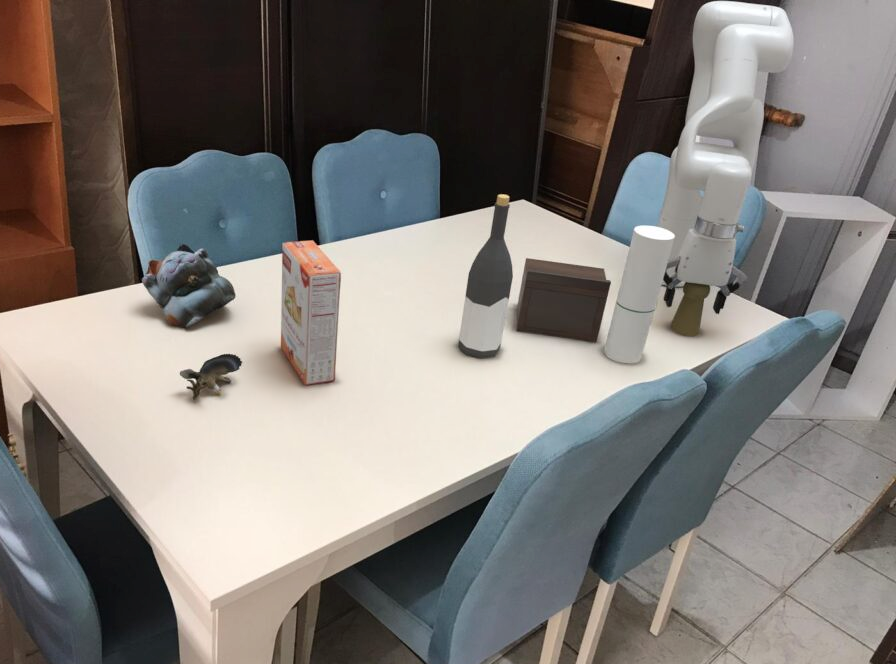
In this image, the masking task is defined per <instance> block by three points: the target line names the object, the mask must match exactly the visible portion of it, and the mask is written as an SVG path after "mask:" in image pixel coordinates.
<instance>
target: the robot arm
mask: <svg viewBox="0 0 896 664" xmlns="http://www.w3.org/2000/svg"><path fill="white" fill-rule="evenodd" d="M794 37H795V36H794V31H793V28H792V24H791V22H790V20H789V16H788V13H787V12H786V11H785V10H784V9H783V8H782V7H779V6H774V5H767V4H757V3H748V2H741V1H733V0H732V1H731V0H713V1H710V2H709V1H708V2H707V3H705V4H703V5H702V6H701V7H700V8H699V10H698V11H697V13H696V16H695V19H694V23H693V29H692V51H693V58H694V59H693V60H694V71H693V77H692V82H691V88H690V93H689V97H688V103H687V108H686V114H685V123H684V127H683V129H682V131H681V133H680V137H679V139H678V144H677V146H676V147H675V148H674V150H673V151H672V153H671V156H670V159H669V167H668V177H667V178H668V179H667V183H666V190H665V195H664V199H663V203H662V207H661V210H660V214H659V219H658V223H657V226H656V227H660V228H663V229H666V230H668V231H670V232H672V233H673V234H674V235H675V237H674V241H673V245H672V248H671V252H670V256H669V259H668V263H667V267H666V270H665V274H664V277H663V281H662V285H661V286H666V288H665V291H664V295H663V301H664V302H665V305H666V307H667V308H672V305H673V301H674V298H675V294H676V287H677V288H679V287H681V288H682V287H683V286H684V284H685V282H689V283H696V284H704V285H709V286H710V287H719V290H718V291H717V292H716V296H715V299H714V302H713V305H712V309H713V311H714V313H715V315H720V313H721V310H723V309H724V307H725V304H726V300H727V298H728V297H729V296H730V295H731V294H732V293H734V292H735V291H737V290H739V289H740V287H741V286H742V285H743V284H744V283H746V281H747V280H748V276H747V275H746V274H745V273H744V272H743V271H741V270H740V269H739V268H737V267H736V266H734V259H735V256H736V255H735V253H736V247H737V237H736V234H737V233H743V232H744V229H745V225H741V224H739V220H740V218H741V214H742V210H743V207H744V204H745V200H746V197H747V194H748V191H749V187H750V184H751V181H752V176H753V171H754V167H755V162H756V157H757V153H758V149H759V145H760V144H759V143H760V139H761V135H762V130H763V125H764V120H765V119H764V118H765V110H764V104H763V102H762V101H761V100H760V98H757V97H756V96H755V91H756V86H757V85H756V84H757V77H758V72H761V73H771V74H779V73H782V72H784V71H785V70H786V69H787V67H788V66H789V64H790V62H791V61H792V57H793V53H794V47H795V45H794V44H795V39H794ZM697 136H698V137H705V138H712V139H719V140H728V141H730V142H732V145H733V146H731V145H730V146H729V145H720V144H716V143H707V142H705V143H704V142H697V141H696V140H697V139H696V138H697ZM701 192H703V196H702V194H701ZM731 275H732V276H734V277H736V278H735V280H734V281H732V282H730V283H729V280H730V278H731Z"/></svg>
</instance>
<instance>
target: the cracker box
mask: <svg viewBox="0 0 896 664" xmlns="http://www.w3.org/2000/svg"><path fill="white" fill-rule="evenodd" d="M281 247H282V253H281V255H282V256H281V262H282V263H281V303H280V305H281V307H280V308H281V309H280V312H281V315H280V318H281V319H280V348H281V350H282V351H283V353H284V354H285V356H286V358H287V359H288V361H289V362H290V364H291V365H292V367H293V369H294V370H295V372H296V374H297V375H298V376H299V378H300V380H301V381H302V383H303V385H304V386H308V385H309V386H311V385H315V384H322V383H328V382H330V383H331V382H335V381H336V364H337V351H338V350H337V349H338V332H339V316H340V315H339V314H340V300H341V299H340V298H341V282H342V281H341V280H342V272H341V270H340V269H339V268H338V267H337V266H336V265H335V264H334V262H332V260H331V259H330V258H329V257H328V256H327V255H326V254H325V252H324V251H323V250H322V249H321V248H320V247H319V246H318V244H317V243H316V242H315V241H314V240H313V239H312V240H300V241H299V240H298V241H286V242H282V246H281Z"/></svg>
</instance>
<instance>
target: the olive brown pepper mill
mask: <svg viewBox="0 0 896 664" xmlns="http://www.w3.org/2000/svg"><path fill="white" fill-rule="evenodd" d="M682 292H683V295H682V298H681V301H680V302H679V304H678V306H677V309H676V311H675V313H674V316H673V318H672V320H671V322H670V325H669V329H670V330H671V331H672V332H674V333H675V334H677V335H680V336H684V337H696V336H698V335H699V334H700V330H701V323H702V316H703V310H704V304H705V299H706V298H708V297H709V295H710V292H711V285H704V284H696V283H689V282H685V284H684V286H682Z"/></svg>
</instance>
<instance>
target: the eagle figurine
mask: <svg viewBox="0 0 896 664" xmlns="http://www.w3.org/2000/svg"><path fill="white" fill-rule="evenodd" d="M242 364H243V360H241V358H240V357H239V356H238V355H236V354H233V353H223V354H219V355H217V356H214V357H212V358H209V359H207V360H205V361H204V362H203V364H202V366H201V367H200V369H199V371H195V370H193V369H192V368H186V369H183V370H180V371H179V376H180V377H181V378H183V379H185V380H186V381H187V382H189V383H190V384H191V385H192V386H186V389H188V390H190V391H192V400H193V401H194V400H195V399H197V398H198V397H199V396H200V395H201V391H203V390H205V389H210V390H212V391H213V392H215V393H217V394H218V395H219V396H222V390H221V388H220V387H219V385H218V384H217V383H216V381H222V382H223V381H224V382H230V383H231V382H232V379H230V378H229V377H227V376H226V375H228V374H229V373H234V372H235V373H236V372H238V371H239V370H240V367H242ZM193 379H194V380H195V381H194V380H193Z"/></svg>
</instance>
